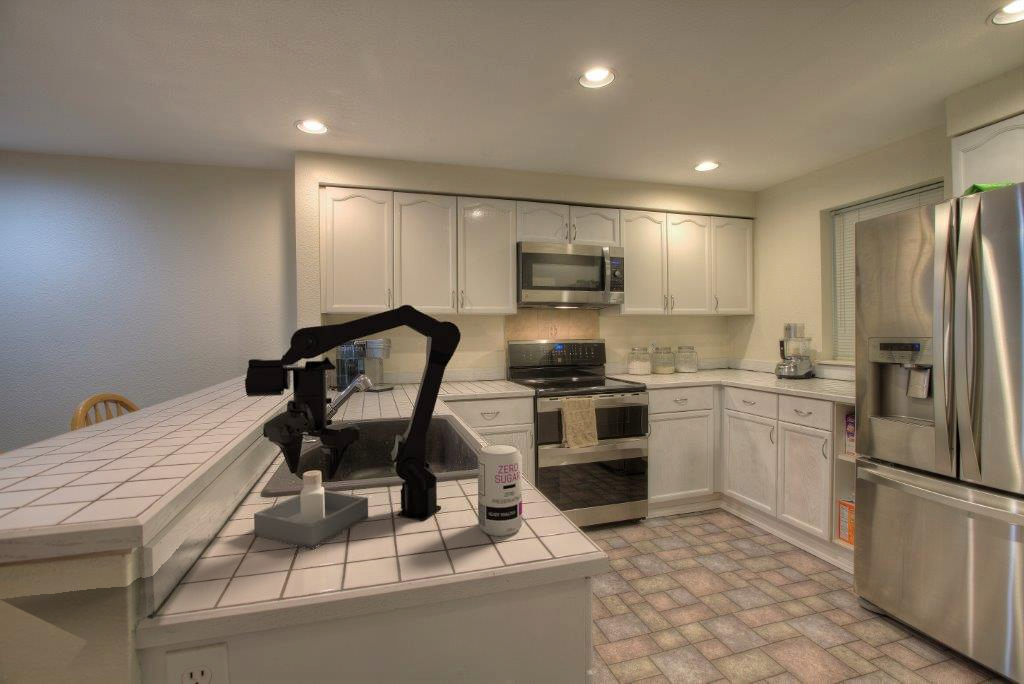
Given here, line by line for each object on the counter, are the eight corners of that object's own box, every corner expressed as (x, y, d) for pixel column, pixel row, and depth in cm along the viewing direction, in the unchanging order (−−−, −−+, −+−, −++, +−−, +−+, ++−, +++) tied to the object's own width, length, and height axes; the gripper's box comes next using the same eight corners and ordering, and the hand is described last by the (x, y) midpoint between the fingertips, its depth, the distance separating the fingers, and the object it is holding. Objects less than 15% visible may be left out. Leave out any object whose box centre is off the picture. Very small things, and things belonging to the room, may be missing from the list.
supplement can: (496, 515, 92) (495, 440, 92) (530, 525, 88) (530, 447, 87) (469, 530, 86) (468, 450, 85) (505, 542, 81) (504, 457, 80)
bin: (368, 517, 91) (367, 497, 91) (312, 549, 79) (311, 526, 78) (315, 507, 97) (314, 488, 97) (254, 535, 84) (254, 513, 84)
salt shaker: (324, 525, 86) (323, 475, 86) (300, 528, 85) (299, 477, 84) (324, 516, 90) (323, 468, 90) (302, 519, 89) (301, 471, 88)
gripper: (235, 397, 83) (237, 483, 84) (313, 404, 76) (315, 498, 76) (287, 389, 93) (289, 465, 94) (360, 394, 86) (362, 477, 86)
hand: (311, 476), depth 87 cm, fingers open, 9 cm apart
